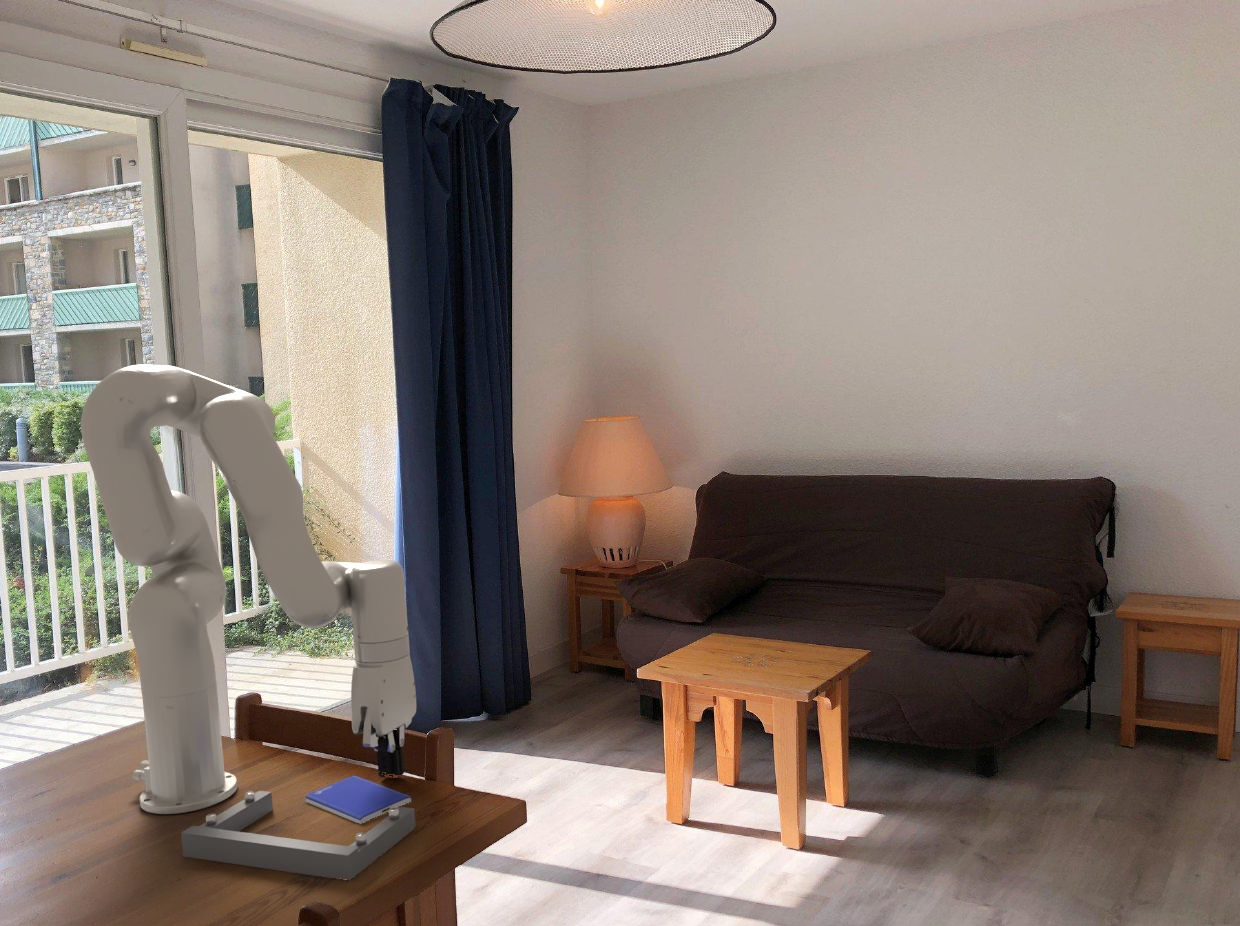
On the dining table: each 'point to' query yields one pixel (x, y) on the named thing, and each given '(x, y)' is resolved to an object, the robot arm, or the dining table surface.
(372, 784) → the hard drive
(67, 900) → the dining table surface
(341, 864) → the drive tray
